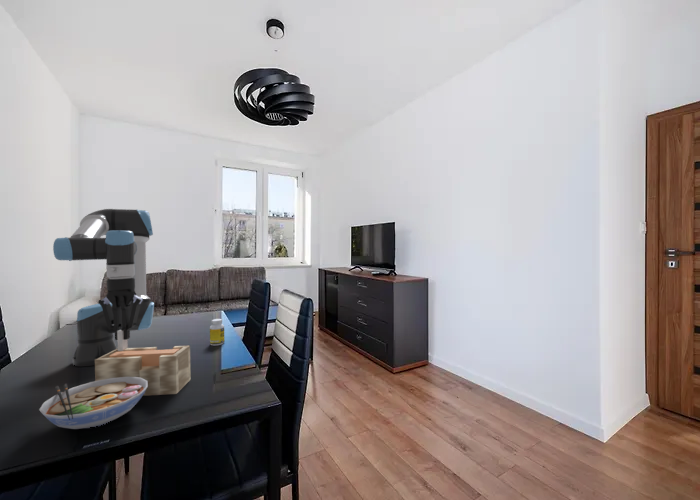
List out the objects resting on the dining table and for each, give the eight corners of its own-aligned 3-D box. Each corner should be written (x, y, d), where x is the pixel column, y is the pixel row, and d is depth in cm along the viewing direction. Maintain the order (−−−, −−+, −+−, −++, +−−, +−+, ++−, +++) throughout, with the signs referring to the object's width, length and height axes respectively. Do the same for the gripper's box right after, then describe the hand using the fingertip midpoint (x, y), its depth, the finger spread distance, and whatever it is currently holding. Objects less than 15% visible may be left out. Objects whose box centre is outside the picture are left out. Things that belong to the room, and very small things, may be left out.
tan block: (109, 368, 103) (109, 355, 103) (117, 363, 107) (117, 351, 106) (174, 364, 104) (174, 352, 104) (179, 360, 108) (179, 348, 108)
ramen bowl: (159, 421, 85) (159, 391, 85) (40, 463, 69) (39, 426, 69) (138, 392, 103) (137, 366, 103) (39, 420, 87) (38, 390, 87)
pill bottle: (219, 346, 150) (218, 321, 150) (207, 345, 151) (206, 321, 151) (227, 342, 156) (226, 318, 156) (215, 341, 157) (215, 318, 157)
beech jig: (95, 398, 99) (94, 359, 99) (118, 383, 110) (117, 348, 110) (176, 393, 101) (175, 356, 101) (190, 379, 112) (189, 345, 112)
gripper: (91, 279, 100) (93, 354, 100) (135, 278, 101) (137, 352, 102) (107, 277, 108) (109, 346, 108) (148, 276, 109) (149, 345, 109)
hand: (122, 349), depth 105 cm, fingers closed
